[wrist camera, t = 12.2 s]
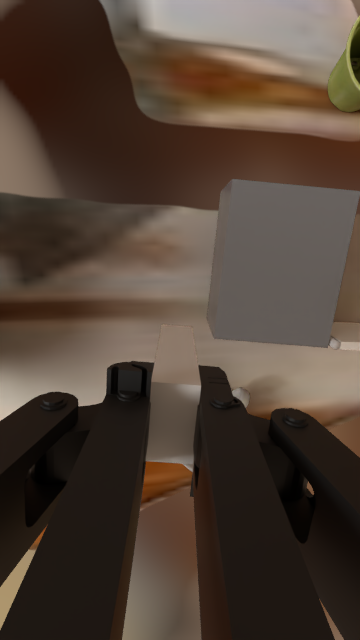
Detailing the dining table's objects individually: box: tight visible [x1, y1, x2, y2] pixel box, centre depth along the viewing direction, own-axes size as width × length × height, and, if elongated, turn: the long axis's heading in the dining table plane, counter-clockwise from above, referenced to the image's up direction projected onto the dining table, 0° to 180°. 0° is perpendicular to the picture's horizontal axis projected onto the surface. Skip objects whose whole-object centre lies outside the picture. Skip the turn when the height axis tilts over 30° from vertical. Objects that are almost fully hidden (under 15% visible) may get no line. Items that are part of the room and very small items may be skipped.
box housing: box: [207, 179, 360, 348], centre depth 42 cm, size 14×18×10 cm
